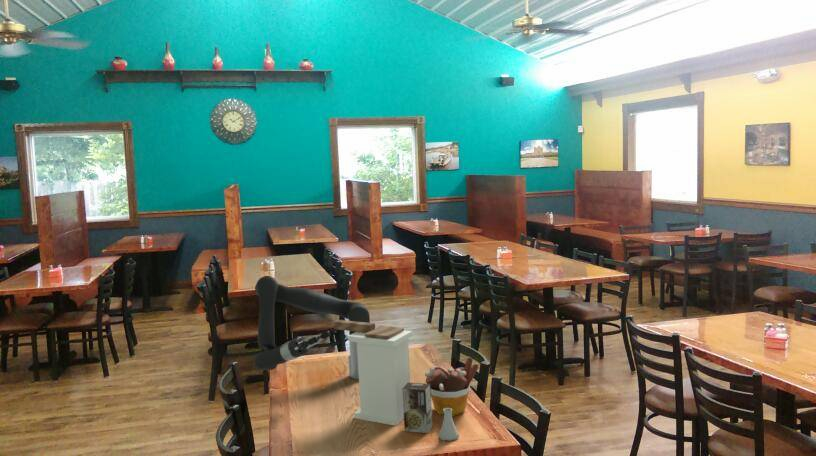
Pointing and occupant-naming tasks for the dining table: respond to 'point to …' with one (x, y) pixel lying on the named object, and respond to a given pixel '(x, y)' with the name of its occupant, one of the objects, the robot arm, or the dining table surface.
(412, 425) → the coffee box
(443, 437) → the flask
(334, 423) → the dining table surface
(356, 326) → the wooden cutting board
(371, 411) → the display stand
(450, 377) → the bucket of meat
